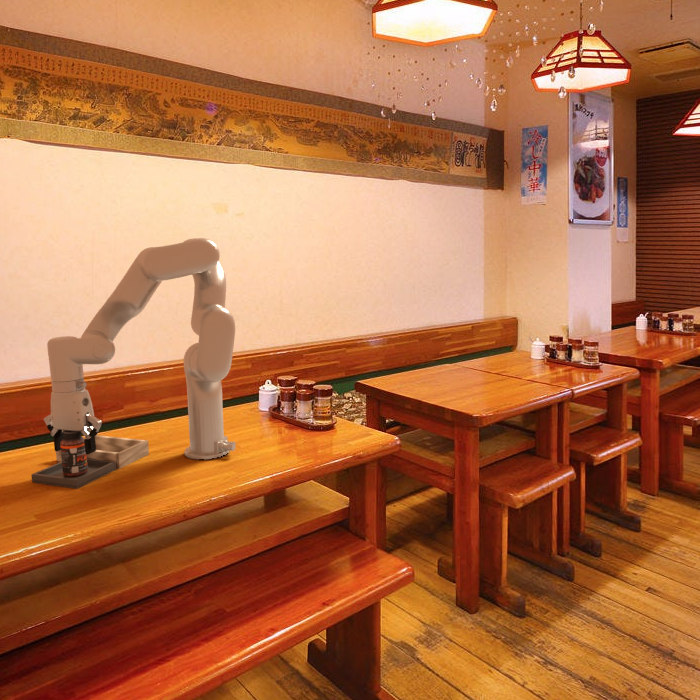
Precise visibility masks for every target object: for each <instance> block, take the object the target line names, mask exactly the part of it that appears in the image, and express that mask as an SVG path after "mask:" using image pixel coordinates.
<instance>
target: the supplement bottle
mask: <svg viewBox="0 0 700 700" xmlns="http://www.w3.org/2000/svg"><path fill="white" fill-rule="evenodd" d="M63 433H64V439H63V440H62V441H61V443H60V445H61V457H62V461H61V462H62V469H63V475H65V476H69V477H74V476H80V475H83V474H85V473H86V472H87V471H88V465H87V454H86V453H85V444H84V439H85V437H83V436H82V432H81V431H66V430H63Z"/></svg>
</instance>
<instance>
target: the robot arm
mask: <svg viewBox="0 0 700 700" xmlns="http://www.w3.org/2000/svg"><path fill="white" fill-rule="evenodd" d="M220 254H221V253H220V250H219V248H218V246H217V244H216V243H215V242H214V241H212V240H210V239H209V238H205V237H199V238H196V237H195V238H188V239H186V240H183V242H178V243H174V244H167V245H163V246H154V247H153V246H151V247H147V248H144V249H142V250H141V251H140V252H139V254H138V255H137V256H136V258H135V259H134V260H133V262H132V264H131V265H130V267H129V268H128V270H127V271H126V273H125V274H124V276H123V277H122V279H121V280H120V282H119V283H118V284H117V286H116V287H115V289H114V291H113V292H112V293H111V294H110V296H109V297H108V298H107V299H106V301H105V302H104V303H103V305H102V306H101V308H100V309H99V310H98V311H97V312H96V314H95V315H94V317H93V318H92V320H91V321H90V322H89V324H88V325H87V326H86V329H85V330H84V332H83V333H82V335H81V337H79V338H78V337H76V336H70V335H69V336H68V335H67V336H65V335H64V336H57V337H53V338H52V337H51V338H50V339H49V340H48V341H47V344H46V345H47V355H48V364H49V371H50V372H49V374H50V381H51V390H52V391H51V393H50V414H48V415H47V416H45V417H44V418H43V421H44V423H45V425H46V428H47V430H48V431H49V432H50V435H51V437H53V446H54V452H56V451H59V450H61V445H60V443H61V441H62V440H63V439H64V431H81V434H82V435H83V436H84V444H85V453H86V454H90V453H93V452H95V451H96V441H95V436H97V435H98V433H99V432H100V430H101V427H102V423H103V422H102V420H101V419H99V418H98V417H96V416H95V413H94V412H95V411H94V407H93V402H92V399H91V395H90V392H89V389H86V388H87V385H88V383H87V382H85V376H84V375H85V374H84V366H83V365H103V364H106V363H109V362H110V361H111V360H112V359H113V358H114V356H115V354H116V347H115V343H114V340H115V338H116V337H117V336H118V334H119V333H120V332H121V330H122V329H123V328H124V326H126V324H127V323H128V322H130V321H131V320H132V319H133V318H135V317H137V316H138V315H140V314H141V313H142V312H143V310H145V308H146V307H147V305H148V303H149V302H150V300H151V298H152V297H153V295H154V294H155V292H156V291H157V289H158V288H159V286H160V285H161V283H162V282H163V281H169V280H174V279H175V280H176V279H178V278H179V279H180V278H183V277H188V276H192V277H193V282H194V290H193V291H194V292H193V293H194V294H193V304H192V311H191V318H190V319H191V320H190V325H191V329H192V331H193V333H195V334H196V335H197V336H198V342H197V343H196V342H195V343H193V344H191V345H190V346H189V347H188V348H187V349H186V351H185V353H184V356H183V371H184V375H185V381H186V382H185V383H186V392H187V393H186V395H187V412H188V433H189V434H188V435H189V446H187V447H186V448H185V449H184V456H186V458H188V459H192V460H199V459H204V460H213V459H212V458H214V459H218V458H217V457H219V458H222V457H224V456H223V455H225V456H227V455H228V454H229V453H230V452H231V451H232V452H234V451H235V450H236V442H235V441H229V440H228V436H227V435H224V434H225V433H224V412H223V411H224V409H223V407H224V406H223V386H222V380H223V379H225V378H226V377H227V376H228V374H229V372H230V370H231V367H232V362H233V353H234V345H235V336H236V323H235V319H234V316H233V315H232V313H231V312H230V311H229V310H228V309H227V308H226V297H227V296H226V293H227V279H226V274H225V271H224V268H223V266H222V265H221V263H220V256H221V255H220ZM85 437H86V439H85ZM229 451H230V452H229ZM227 453H228V454H227ZM226 454H227V455H226ZM221 456H222V457H221Z"/></svg>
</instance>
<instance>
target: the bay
mask: <svg viewBox="0 0 700 700" xmlns="http://www.w3.org/2000/svg"><path fill="white" fill-rule="evenodd" d="M84 439H86V437H85V436H84ZM95 441H96V451H95V452H93V453H90V454H87V459H96V460H104V461H112V462H116V469H121V468H124V467H126V466H128V465H130V464H133V463H134V462H136V461H138V460H140V459H142V458H144V457H147V456H148V455H149V454H150V450H149V449H150V448H149V440H146V439H136V438H127V437H117V436H108V435H99V434H97V436H95ZM55 458H56V461H57V462H62V457H61V450H59V451H55Z"/></svg>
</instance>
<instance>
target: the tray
mask: <svg viewBox="0 0 700 700" xmlns="http://www.w3.org/2000/svg"><path fill="white" fill-rule="evenodd" d="M87 465H88V471H87V472H86V473H85V474H83V475H80V476H74V477H69V476H65V475H63V469H62V461H58V462H57V463H55V464H53V465H51V466H48V467H45V468H43V469H40V470H38V471H36V472H34V473H32V474H31V483H33V482H35V483H34V484H40V483H41V484H42V485H47V484H48V485H47V486H56V487H62V488H71V489H80V488H82V487H83V486H86V485H88V484H90V483H92V482H94V481H96V480H98V479H100V478H102V477H103V476H106V475H108V474H110V473H112V472H114V471H116V470H117V468H116V462H112V461H104V460H96V459H87ZM79 487H80V488H79Z"/></svg>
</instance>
